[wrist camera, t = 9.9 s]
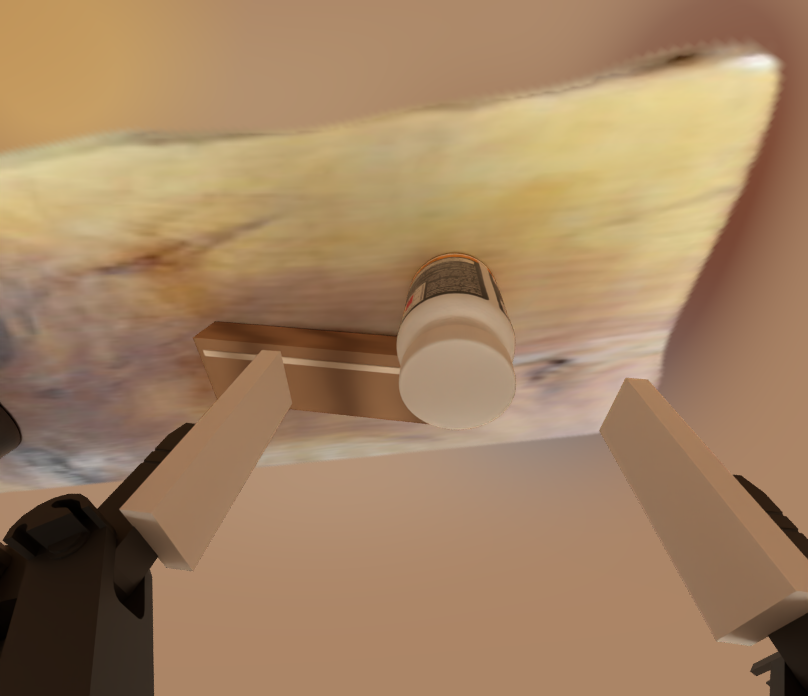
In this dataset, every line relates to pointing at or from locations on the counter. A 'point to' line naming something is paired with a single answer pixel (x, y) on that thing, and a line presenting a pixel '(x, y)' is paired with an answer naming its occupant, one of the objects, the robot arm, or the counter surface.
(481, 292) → the pill bottle
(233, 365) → the plank
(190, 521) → the robot arm
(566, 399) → the counter surface
